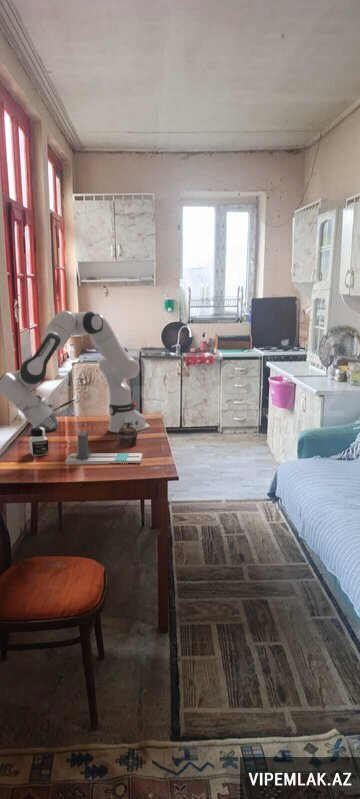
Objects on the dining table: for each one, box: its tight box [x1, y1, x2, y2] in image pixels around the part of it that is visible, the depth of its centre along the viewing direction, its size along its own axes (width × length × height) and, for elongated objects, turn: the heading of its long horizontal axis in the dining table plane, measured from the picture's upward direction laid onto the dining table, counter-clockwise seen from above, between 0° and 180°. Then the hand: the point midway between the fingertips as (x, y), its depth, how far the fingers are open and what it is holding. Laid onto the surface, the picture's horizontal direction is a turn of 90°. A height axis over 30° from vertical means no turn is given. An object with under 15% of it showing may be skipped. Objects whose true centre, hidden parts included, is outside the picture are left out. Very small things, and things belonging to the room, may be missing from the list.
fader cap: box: [76, 431, 92, 459], centre depth 213 cm, size 5×7×10 cm
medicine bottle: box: [28, 427, 50, 457], centre depth 224 cm, size 7×7×12 cm
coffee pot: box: [38, 398, 77, 432], centre depth 267 cm, size 21×12×15 cm, turn 115°
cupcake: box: [117, 422, 139, 447], centre depth 238 cm, size 10×10×10 cm
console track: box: [64, 452, 144, 465], centre depth 214 cm, size 32×10×2 cm, turn 89°
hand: (53, 427), depth 212 cm, fingers closed
